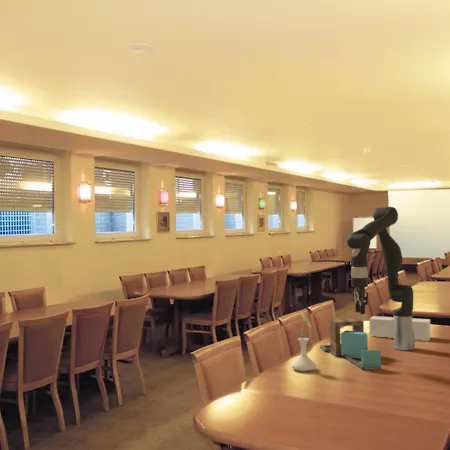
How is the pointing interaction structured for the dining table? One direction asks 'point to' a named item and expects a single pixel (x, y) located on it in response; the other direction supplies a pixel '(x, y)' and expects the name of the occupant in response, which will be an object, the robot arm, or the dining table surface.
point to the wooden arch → (335, 332)
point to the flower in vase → (304, 352)
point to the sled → (368, 359)
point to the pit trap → (325, 348)
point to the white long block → (386, 328)
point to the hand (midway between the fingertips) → (360, 312)
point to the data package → (353, 343)
